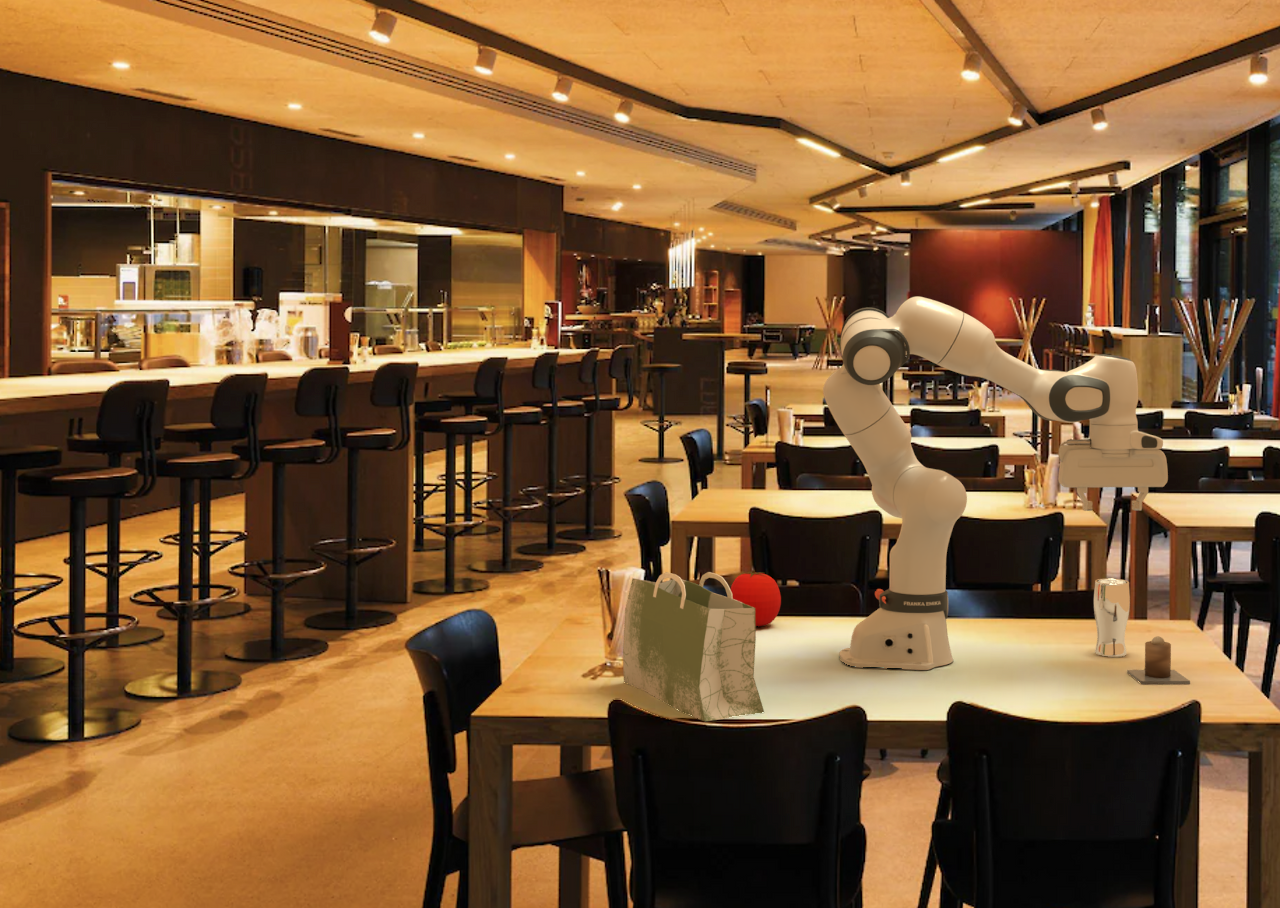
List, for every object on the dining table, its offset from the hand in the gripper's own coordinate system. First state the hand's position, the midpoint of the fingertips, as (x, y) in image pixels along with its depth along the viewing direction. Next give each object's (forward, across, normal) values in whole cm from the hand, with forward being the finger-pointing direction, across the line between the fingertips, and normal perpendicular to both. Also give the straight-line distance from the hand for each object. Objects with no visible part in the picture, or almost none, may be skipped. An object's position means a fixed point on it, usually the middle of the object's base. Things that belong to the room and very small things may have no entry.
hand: (1112, 510), depth 291 cm
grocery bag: (+31, -81, -21) cm, 90 cm away
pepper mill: (+30, +7, -8) cm, 32 cm away
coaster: (+31, +7, -8) cm, 33 cm away
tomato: (+31, -67, +42) cm, 85 cm away
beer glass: (+31, +4, +13) cm, 34 cm away
